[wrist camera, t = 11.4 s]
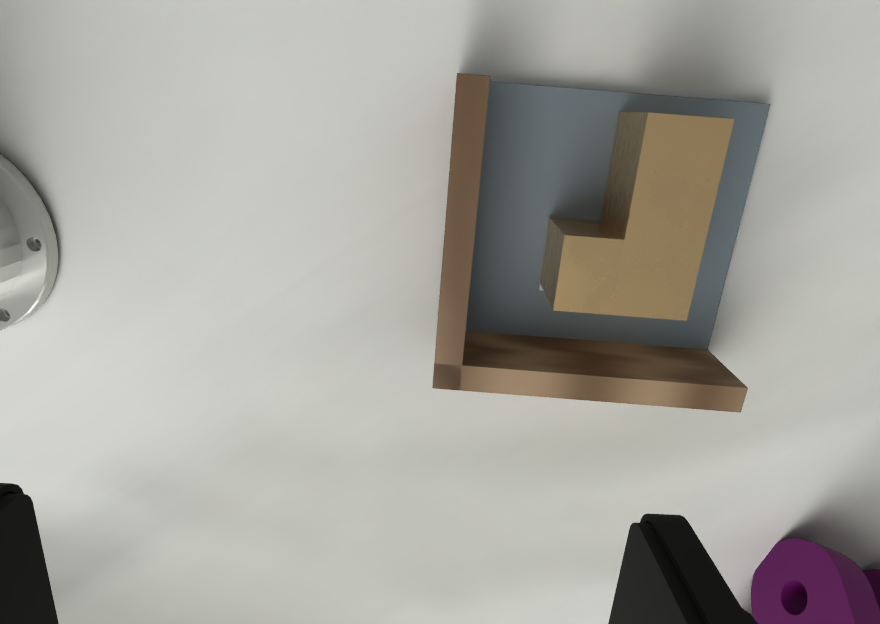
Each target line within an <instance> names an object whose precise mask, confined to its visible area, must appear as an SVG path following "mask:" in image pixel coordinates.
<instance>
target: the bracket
mask: <svg viewBox="0 0 880 624" xmlns="http://www.w3.org/2000/svg"><path fill="white" fill-rule="evenodd" d="M733 123H734V119H727V118H714V117H701V116H688V115H675V114H662V113H649V112H619V114H618V119H617V125H616V131H615V137H614V143H613V149H612V155H611V161H610V166H609V172H608V178H607V184H606V190H605V196H604V202H603V208H602V214H601V219H600V221H592V220H579V219H566V218H553V217H549V220H548V227H547V234H546V241H545V248H544V256H543V263H542V270H541V277H540V284H541V286H542V288H543V291H544V293H545V295H546V297H547V299H548V301H549V303H550V305H551V307H552V309H553V311H566V312H579V313H592V314H605V315H618V316H631V317H644V318H657V319H670V320H683V321H687V318H688V313H689V309H690V305H691V301H692V296H693V292H694V288H695V284H696V279H697V275H698V271H699V267H700V263H701V258H702V254H703V250H704V246H705V241H706V237H707V233H708V229H709V225H710V220H711V216H712V212H713V208H714V203H715V199H716V195H717V191H718V187H719V182H720V178H721V174H722V170H723V165H724V161H725V157H726V153H727V149H728V144H729V140H730V136H731V132H732V127H733Z"/></svg>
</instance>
